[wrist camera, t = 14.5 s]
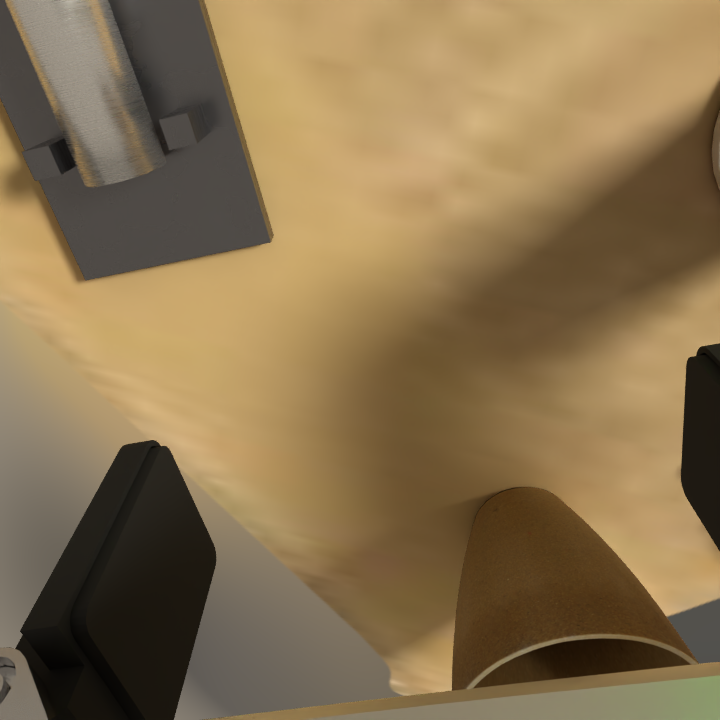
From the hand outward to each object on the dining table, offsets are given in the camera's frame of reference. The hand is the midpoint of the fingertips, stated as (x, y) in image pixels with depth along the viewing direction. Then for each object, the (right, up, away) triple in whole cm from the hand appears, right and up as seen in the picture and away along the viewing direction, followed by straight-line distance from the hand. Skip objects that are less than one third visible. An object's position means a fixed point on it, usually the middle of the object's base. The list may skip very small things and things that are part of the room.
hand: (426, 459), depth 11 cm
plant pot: (+12, -11, +39) cm, 42 cm away
